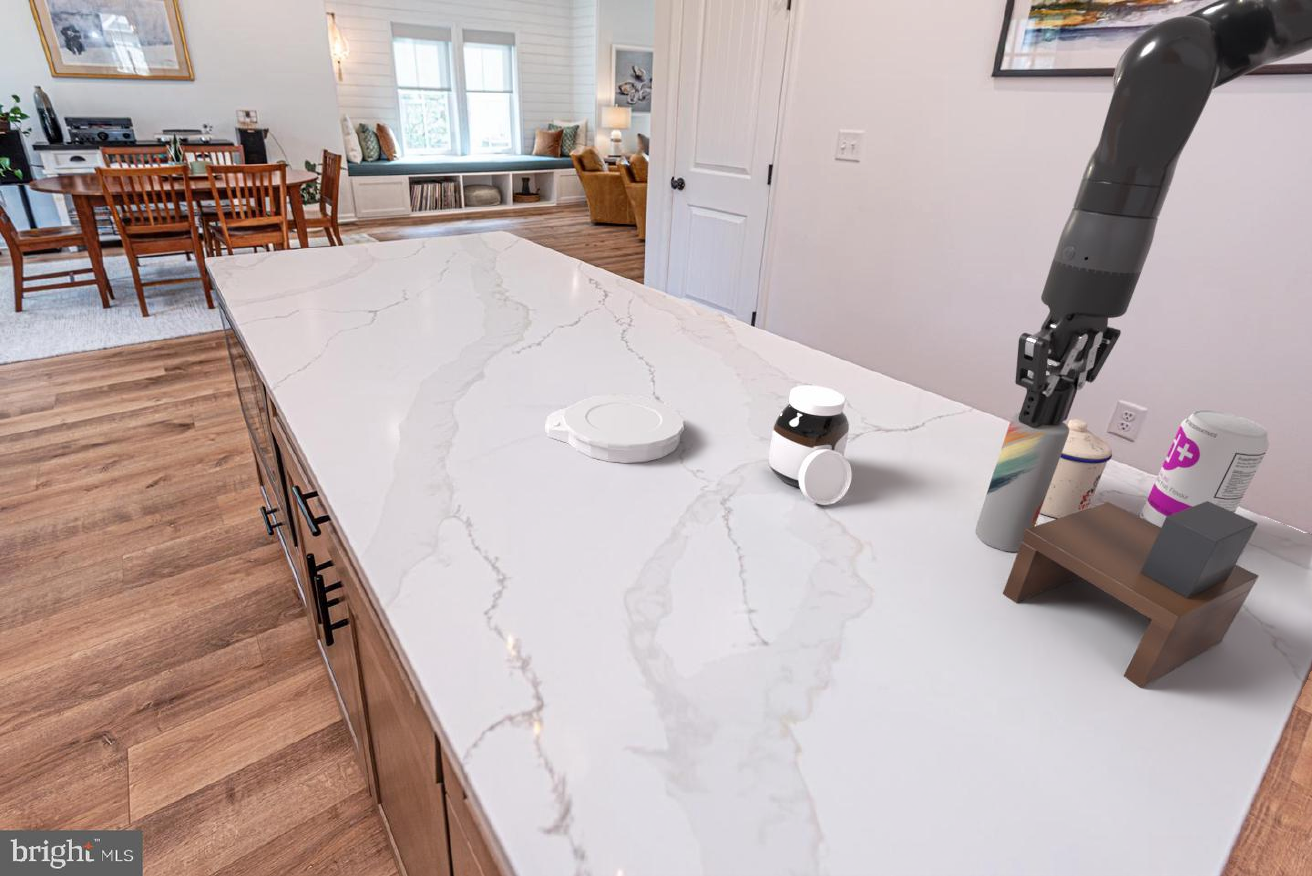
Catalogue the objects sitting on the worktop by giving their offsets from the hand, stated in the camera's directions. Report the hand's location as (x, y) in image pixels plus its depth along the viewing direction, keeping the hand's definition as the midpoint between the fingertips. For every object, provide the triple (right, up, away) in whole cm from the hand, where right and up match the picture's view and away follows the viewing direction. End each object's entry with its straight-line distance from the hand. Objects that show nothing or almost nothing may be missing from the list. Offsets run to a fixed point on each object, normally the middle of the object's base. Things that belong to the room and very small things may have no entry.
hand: (1041, 421), depth 73 cm
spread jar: (-22, -8, +16) cm, 28 cm away
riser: (+4, -20, -5) cm, 21 cm away
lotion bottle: (-1, -14, +7) cm, 15 cm away
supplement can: (+23, -14, +11) cm, 29 cm away
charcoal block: (+6, -14, -12) cm, 20 cm away
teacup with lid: (+10, -10, +17) cm, 22 cm away
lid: (-48, -2, +25) cm, 54 cm away
